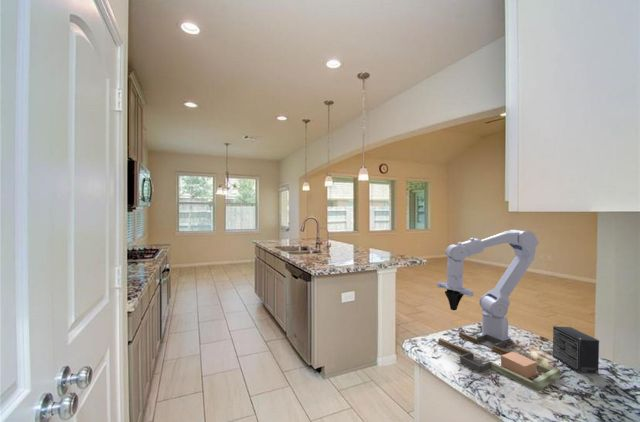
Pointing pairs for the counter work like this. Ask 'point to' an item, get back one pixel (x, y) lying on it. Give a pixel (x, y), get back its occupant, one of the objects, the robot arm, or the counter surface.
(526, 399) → the counter surface
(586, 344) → the small box
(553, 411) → the counter surface
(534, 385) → the lane
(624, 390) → the counter surface
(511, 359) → the block
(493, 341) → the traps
